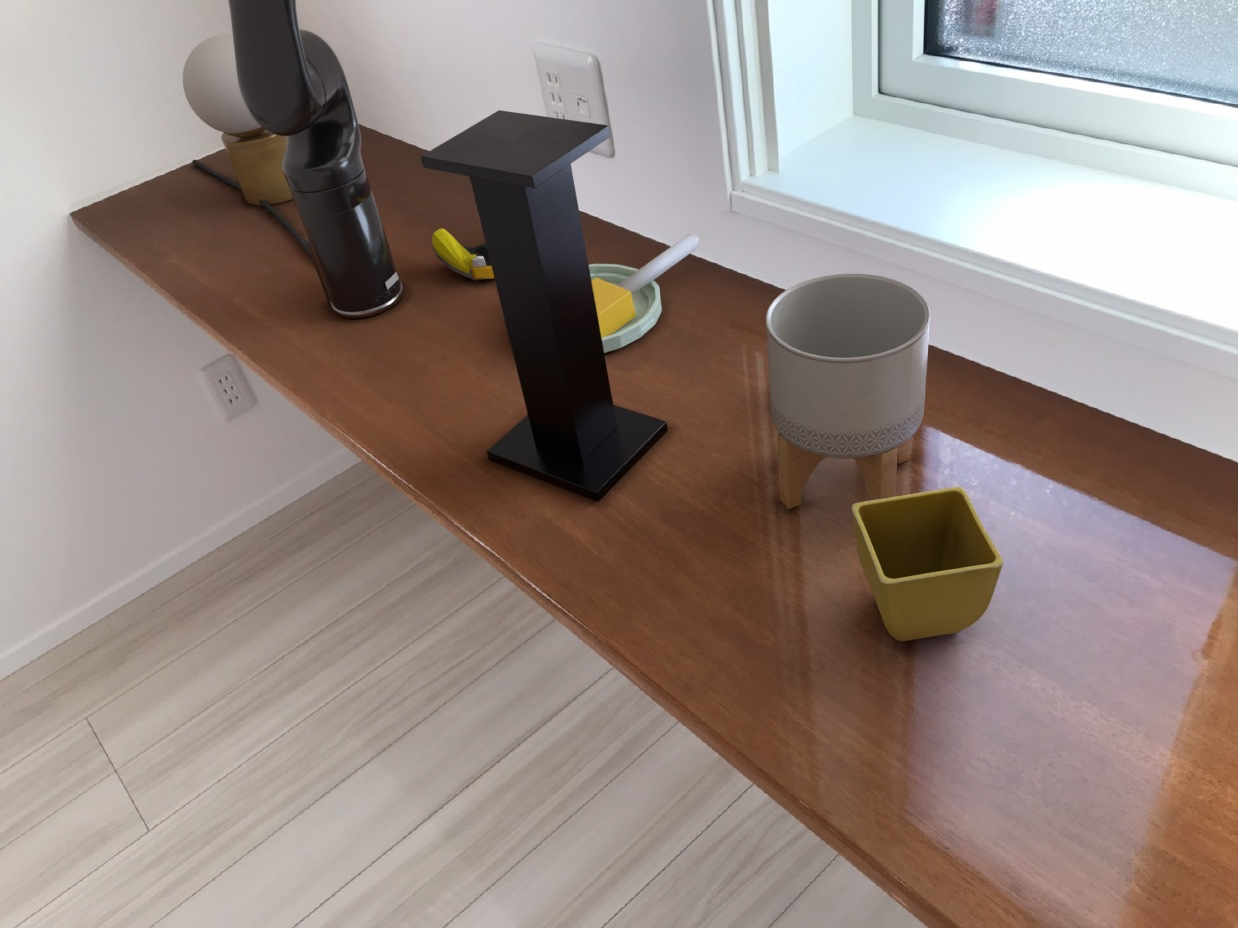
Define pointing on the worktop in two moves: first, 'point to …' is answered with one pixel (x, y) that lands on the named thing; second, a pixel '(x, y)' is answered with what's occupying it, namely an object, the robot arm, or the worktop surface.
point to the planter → (846, 377)
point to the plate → (643, 300)
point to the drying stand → (547, 300)
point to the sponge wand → (634, 286)
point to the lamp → (235, 121)
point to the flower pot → (926, 561)
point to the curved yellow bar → (462, 256)
